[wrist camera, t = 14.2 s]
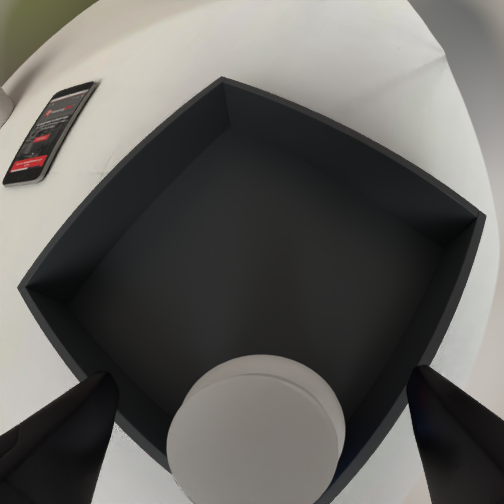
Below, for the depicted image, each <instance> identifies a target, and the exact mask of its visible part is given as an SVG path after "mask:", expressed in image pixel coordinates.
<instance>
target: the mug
mask: <svg viewBox="0 0 504 504" xmlns="http://www.w3.org/2000/svg"><path fill="white" fill-rule="evenodd" d="M13 108H14V105H13V103H12V101H11V100H10V98H9V97H8V96H7V95H6V93H5V92H4V91H3V89H2V88H1V87H0V128H1V127H2V126H3V124H4V123H5V122H6V121H7V119H8V118H9V116H10V115H11V113H12V111H13Z"/></svg>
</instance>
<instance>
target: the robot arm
mask: <svg viewBox="0 0 504 504" xmlns="http://www.w3.org/2000/svg"><path fill="white" fill-rule="evenodd" d="M406 394H407V399H408V404H409V409H410V414H411V420H412V425H413V431H414V435H415V439H416V443H417V446H418V450H419V453H420V457H421V461H422V464H423V468H424V472H425V476H426V480H427V484H428V489H429V493H430V497H431V502H432V504H504V421H503V420H502V419H501V418H500V417H498V416H497V415H495V414H494V413H493V412H491V411H490V410H489V409H487V408H486V407H485V406H483V405H482V404H480V403H479V402H478V401H476V400H475V399H474V398H472V397H471V396H470V395H468V394H467V393H465V392H464V391H463V390H461V389H460V388H459V387H457V386H456V385H454V384H453V383H452V382H450V381H449V380H447V379H446V378H445V377H443V376H442V375H441V374H439V373H438V372H436V371H435V370H434V369H432V368H431V367H429V366H428V365H419V366H415V367H414V368H413V369H412V371H411V374H410V377H409V380H408V382H407V385H406ZM119 398H120V390H119V387H118V385H117V383H116V381H115V379H114V377H113V375H112V373H111V372H109V371H103V370H98V371H96V372H95V373H93V374H92V375H91V376H89V377H88V378H86V379H85V380H83V381H82V382H80V383H79V384H77V385H76V386H74V387H73V388H71V389H70V390H69V391H67V392H66V393H64V394H63V395H61V396H60V397H58V398H57V399H55V400H54V401H52V402H51V403H49V404H48V405H46V406H45V407H43V408H42V409H40V410H39V411H37V412H36V413H35V414H33V415H32V416H30V417H29V418H27V419H26V420H24V421H23V422H21V423H20V425H19V424H18V425H17V426H15V427H14V428H12V429H11V430H9V431H7V432H6V433H4V434H3V435H1V436H0V504H91V502H92V498H93V494H94V491H95V487H96V483H97V480H98V477H99V473H100V470H101V466H102V463H103V460H104V457H105V453H106V450H107V447H108V444H109V441H110V438H111V434H112V430H113V425H114V420H115V416H116V411H117V406H118V402H119Z"/></svg>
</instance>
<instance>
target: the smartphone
mask: <svg viewBox="0 0 504 504" xmlns="http://www.w3.org/2000/svg"><path fill="white" fill-rule="evenodd" d="M95 87H96V83H95V82H94V81H91V82H88V83H84V84H81V85H77V86H74V87H71V88H68V89H64V90H61V91H59V92H57V93H56V94H54V96H53V97H52V98H51V100H50V101H49V103H48V104H47V105H46V107H45V108H44V110H43V111H42V113H41V114H40V116H39V117H38V119H37V120H36V122H35V124H34V125H33V127H32V128H31V130H30V132H29V133H28V135H27V137H26V138H25V140H24V142H23V143H22V145H21V147H20V149H19V150H18V152H17V154H16V156H15V158H14V160H13V161H12V163H11V165H10V167H9V169H8V171H7V173H6V175H5V177H4V179H3V185H4V186H5V187H11V186H18V185H26V184H33V183H38V182H40V181H42V180H43V178H44V176H45V174H46V172H47V170H48V168H49V166H50V164H51V162H52V160H53V158H54V156H55V154H56V152H57V150H58V148H59V146H60V145H61V143H62V141H63V139H64V137H65V135H66V134H67V132H68V130H69V128H70V127H71V125H72V123H73V122H74V120H75V118H76V117H77V115H78V113H79V112H80V110H81V109H82V107H83V105H84V104H85V102H86V101H87V99H88V98H89V96H90V95H91V93H92V92H93V90H94V89H95Z"/></svg>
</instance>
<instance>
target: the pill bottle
mask: <svg viewBox="0 0 504 504" xmlns="http://www.w3.org/2000/svg"><path fill="white" fill-rule="evenodd" d="M344 440H345V420H344V415H343V411H342V408H341V405H340V403H339V401H338V399H337V397H336V395H335V393H334V392H333V390H332V389H331V387H330V386H329V385H328V384H327V383H326V381H325V380H324V379H323V378H322V377H321V376H319V375H318V374H317V373H316V372H314V371H313V370H312V369H310V368H308V367H307V366H305V365H303V364H301V363H299V362H296V361H294V360H291V359H288V358H284V357H280V356H274V355H249V356H243V357H239V358H235V359H232V360H229V361H227V362H224V363H222V364H220V365H218V366H216V367H214V368H213V369H211V370H210V371H208V372H207V373H206V374H205V375H203V376H202V377H201V378H200V379H199V380H198V381H197V382H196V383H195V384H194V385H193V387H192V388H191V389H190V391H189V392H188V394H187V396H186V397H185V399H184V401H183V404H182V406H181V407H180V408H179V410H178V411H177V413H176V415H175V416H174V418H173V420H172V423H171V426H170V428H169V431H168V437H167V458H168V463H169V467H170V470H171V472H172V475H173V477H174V479H175V481H176V483H177V484H178V486H179V487H180V489H181V490H182V491H183V492H184V494H185V495H186V496H187V497H188V498H189V499H190V500H191V501H192V502H194V503H195V504H313V503H315V501H316V500H318V499H319V498H320V497H321V495H322V494H323V493H324V492H325V490H326V489H327V487H328V486H329V484H330V482H331V481H332V478H333V476H334V473H335V470H336V467H337V463H338V460H339V458H340V455H341V453H342V449H343V446H344Z"/></svg>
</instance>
